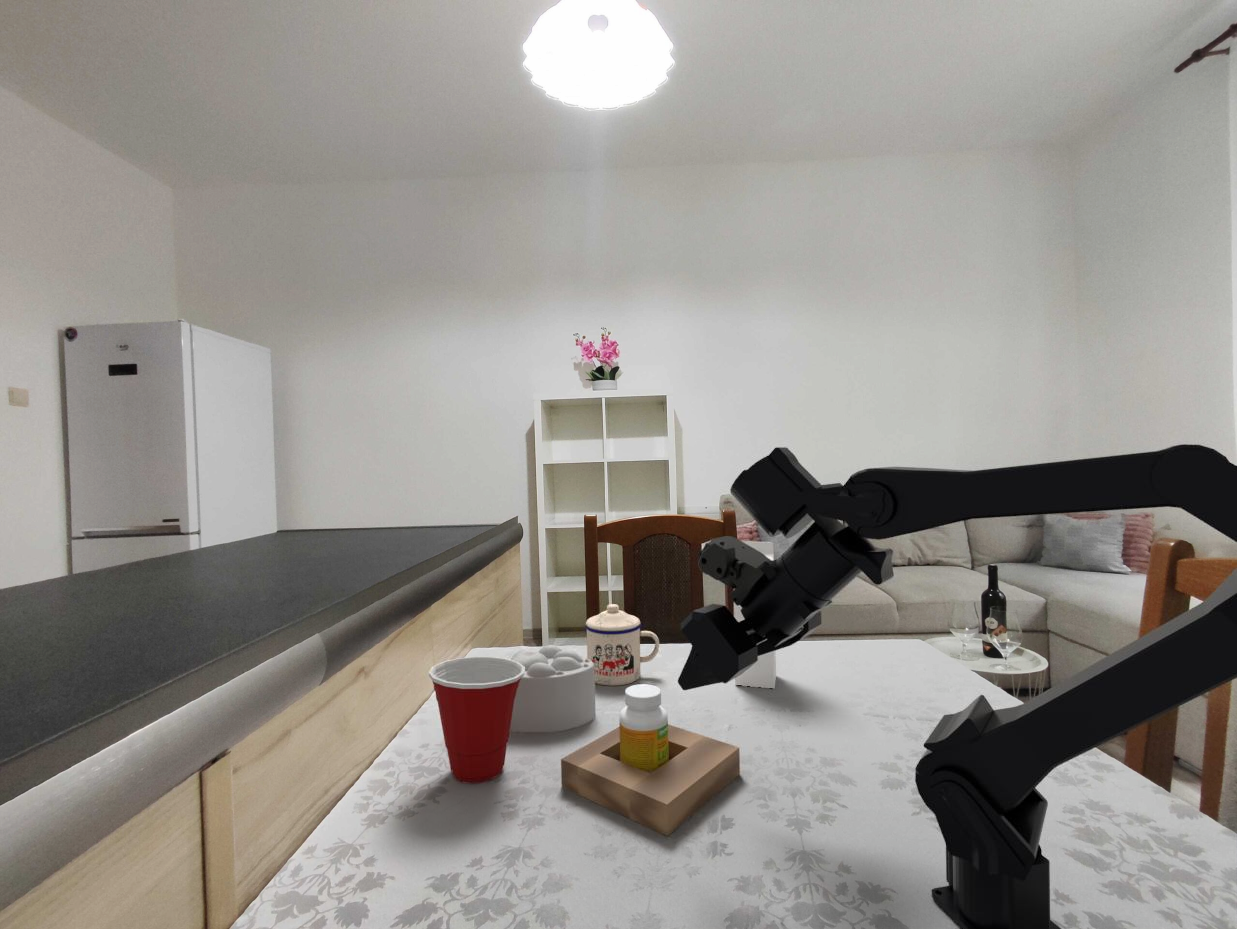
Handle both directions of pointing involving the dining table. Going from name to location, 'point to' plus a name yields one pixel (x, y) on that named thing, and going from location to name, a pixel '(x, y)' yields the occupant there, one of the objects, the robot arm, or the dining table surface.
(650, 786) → the bottle holder
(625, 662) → the teacup with lid
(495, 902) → the dining table surface
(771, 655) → the milk
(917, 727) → the dining table surface
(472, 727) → the plastic cup
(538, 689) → the lumpy-topped squat cylinder
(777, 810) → the dining table surface
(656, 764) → the supplement bottle
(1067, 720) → the robot arm
